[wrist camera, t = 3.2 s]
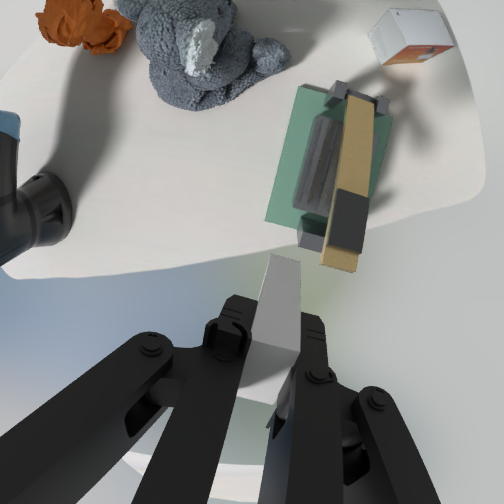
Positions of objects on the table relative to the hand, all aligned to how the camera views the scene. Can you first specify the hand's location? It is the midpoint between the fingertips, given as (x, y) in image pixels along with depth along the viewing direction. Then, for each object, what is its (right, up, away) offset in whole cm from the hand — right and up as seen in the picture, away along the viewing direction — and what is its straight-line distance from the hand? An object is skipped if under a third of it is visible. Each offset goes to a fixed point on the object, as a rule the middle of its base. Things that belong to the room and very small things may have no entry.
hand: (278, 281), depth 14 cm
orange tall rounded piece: (-25, +39, +18) cm, 50 cm away
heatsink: (+10, +14, +23) cm, 29 cm away
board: (+10, +14, +23) cm, 29 cm away
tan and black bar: (+8, +9, +11) cm, 16 cm away
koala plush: (-7, +29, +20) cm, 36 cm away
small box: (+20, +32, +15) cm, 41 cm away
